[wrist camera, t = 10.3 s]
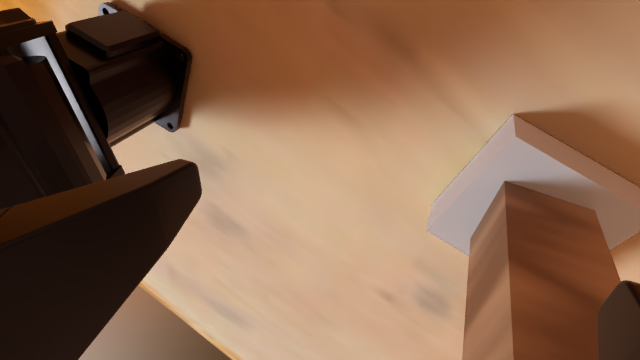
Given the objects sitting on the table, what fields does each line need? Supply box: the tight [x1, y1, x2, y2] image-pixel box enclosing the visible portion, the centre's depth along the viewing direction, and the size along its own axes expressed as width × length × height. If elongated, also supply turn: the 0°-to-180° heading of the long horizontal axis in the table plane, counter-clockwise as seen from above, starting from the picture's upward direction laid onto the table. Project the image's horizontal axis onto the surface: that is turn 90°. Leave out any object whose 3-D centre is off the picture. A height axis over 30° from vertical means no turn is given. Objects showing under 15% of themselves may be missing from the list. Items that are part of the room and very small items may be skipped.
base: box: [426, 114, 640, 256], centre depth 19 cm, size 7×7×2 cm
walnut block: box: [462, 181, 621, 360], centre depth 14 cm, size 4×4×12 cm
